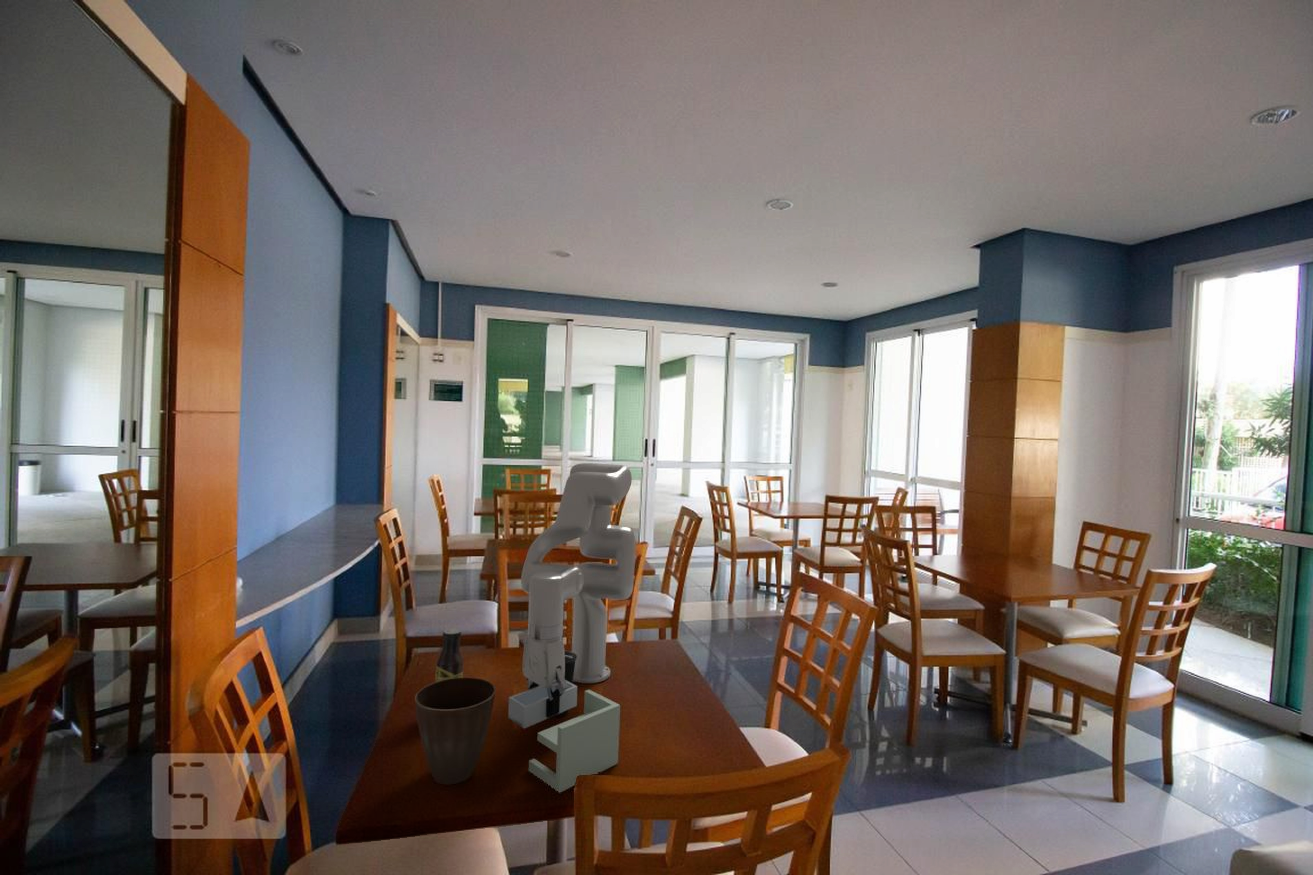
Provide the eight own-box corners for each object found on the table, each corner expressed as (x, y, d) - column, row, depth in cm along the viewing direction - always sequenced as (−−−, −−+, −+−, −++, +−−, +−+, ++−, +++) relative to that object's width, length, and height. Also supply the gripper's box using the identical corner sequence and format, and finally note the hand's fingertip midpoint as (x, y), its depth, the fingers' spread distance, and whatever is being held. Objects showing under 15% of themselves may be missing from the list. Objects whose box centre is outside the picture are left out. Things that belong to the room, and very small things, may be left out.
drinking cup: (581, 713, 142) (584, 630, 142) (555, 723, 136) (559, 637, 136) (561, 702, 147) (564, 623, 147) (536, 712, 141) (539, 629, 142)
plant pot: (411, 804, 104) (415, 714, 105) (410, 761, 118) (414, 682, 118) (497, 787, 110) (500, 702, 110) (486, 748, 124) (490, 673, 124)
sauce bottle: (428, 713, 139) (431, 629, 139) (452, 705, 143) (456, 624, 143) (441, 722, 134) (445, 636, 134) (466, 714, 139) (469, 630, 139)
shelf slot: (528, 770, 116) (531, 710, 116) (586, 744, 127) (589, 689, 127) (559, 792, 109) (561, 728, 110) (617, 763, 120) (620, 704, 120)
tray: (524, 728, 122) (524, 707, 122) (508, 717, 126) (508, 697, 126) (576, 705, 132) (577, 686, 132) (560, 696, 136) (561, 677, 136)
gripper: (509, 622, 132) (507, 701, 132) (555, 645, 120) (553, 731, 121) (537, 615, 137) (535, 690, 138) (583, 636, 125) (581, 718, 126)
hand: (543, 708), depth 129 cm, fingers closed on tray, 6 cm apart
